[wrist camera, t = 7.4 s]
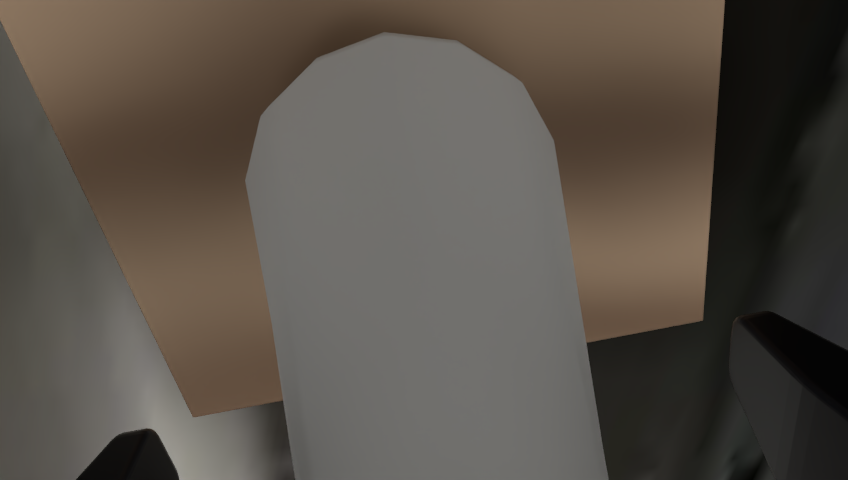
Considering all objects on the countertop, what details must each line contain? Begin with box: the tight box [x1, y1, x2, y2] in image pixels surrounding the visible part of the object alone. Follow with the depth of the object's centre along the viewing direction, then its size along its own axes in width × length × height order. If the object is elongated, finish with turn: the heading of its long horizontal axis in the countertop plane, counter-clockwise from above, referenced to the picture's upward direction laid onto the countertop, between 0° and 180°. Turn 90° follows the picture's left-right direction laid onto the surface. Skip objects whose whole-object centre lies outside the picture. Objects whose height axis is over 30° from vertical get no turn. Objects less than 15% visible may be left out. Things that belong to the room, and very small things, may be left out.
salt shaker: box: [245, 32, 609, 480], centre depth 10 cm, size 6×6×13 cm
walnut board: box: [0, 0, 725, 417], centre depth 16 cm, size 14×14×1 cm
